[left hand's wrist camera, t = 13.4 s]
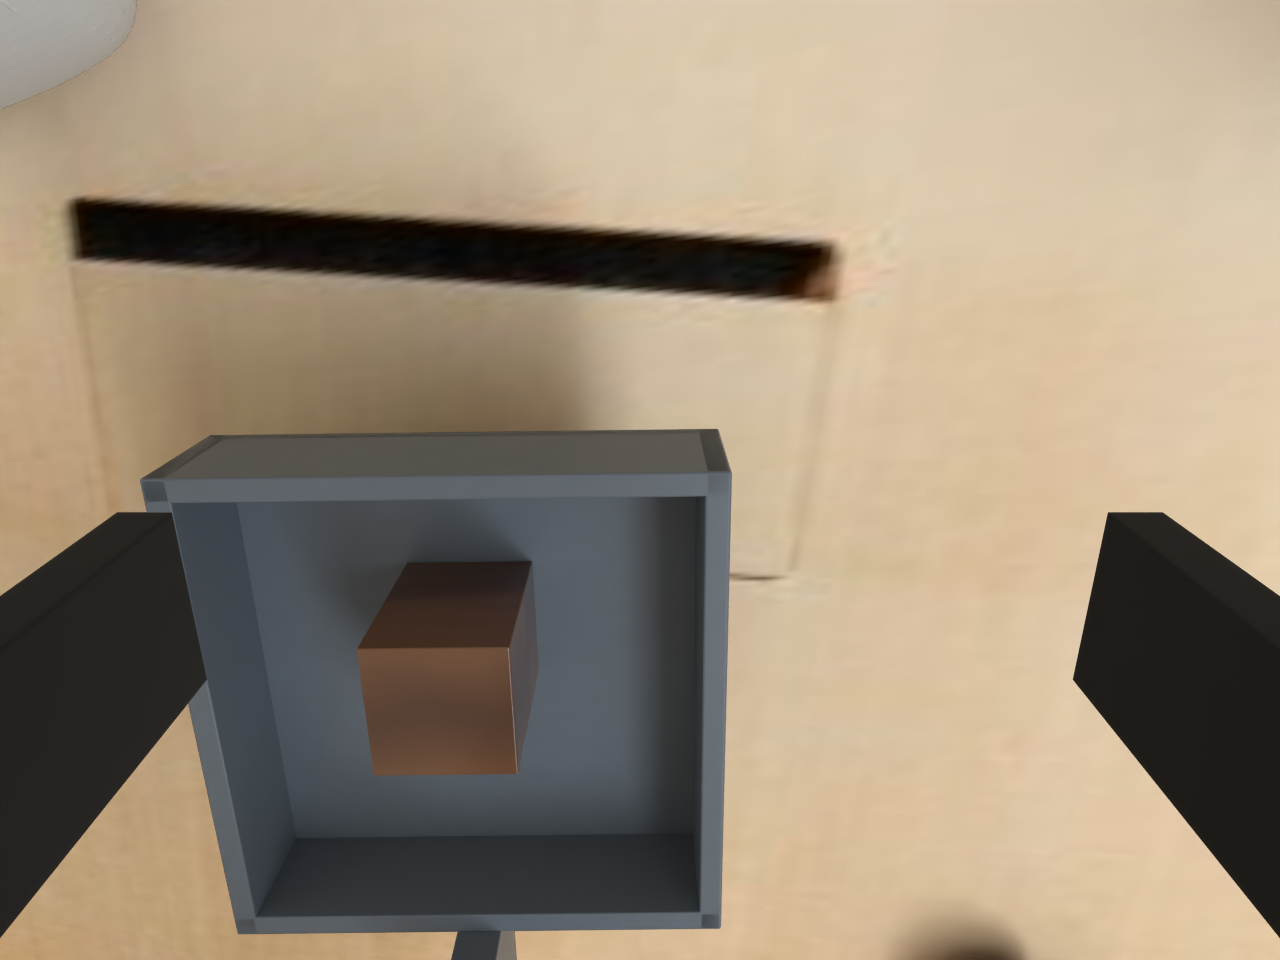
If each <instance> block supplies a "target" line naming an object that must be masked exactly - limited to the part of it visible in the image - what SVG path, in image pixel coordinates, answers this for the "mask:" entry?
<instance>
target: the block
mask: <svg viewBox="0 0 1280 960" xmlns="http://www.w3.org/2000/svg"><path fill="white" fill-rule="evenodd" d="M357 657H358V664H359V671H360V679H361V686H362V693H363V701H364V708H365V715H366V723H367V730H368V737H369V745H370V752H371V759H372V767H373V774H374V775H375V776H385V775H476V774H518V772H519V767H520V762H521V757H522V751H523V746H524V741H525V736H526V731H527V726H528V721H529V716H530V711H531V706H532V701H533V696H534V691H535V686H536V680H537V675H538V670H539V668H538V651H537V634H536V616H535V599H534V581H533V564H532V562H531V561H525V562H436V563H407V564H406V565H405V567H404V569H403V570H402V572H401V574H400V576H399V577H398V579H397V581H396V582H395V584H394V586H393V588H392V589H391V591H390V593H389V594H388V596H387V598H386V600H385V601H384V603H383V605H382V606H381V608H380V610H379V612H378V613H377V615H376V617H375V618H374V620H373V622H372V624H371V625H370V627H369V629H368V630H367V632H366V634H365V636H364V637H363V639H362V641H361V642H360V644H359V646H358V648H357Z"/></svg>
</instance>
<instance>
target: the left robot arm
mask: <svg viewBox="0 0 1280 960" xmlns="http://www.w3.org/2000/svg"><path fill="white" fill-rule="evenodd" d="M206 680H207V677H206V672H205V667H204V662H203V658H202V653H201V648H200V643H199V639H198V634H197V629H196V624H195V620H194V615H193V610H192V605H191V601H190V596H189V591H188V586H187V582H186V577H185V572H184V567H183V563H182V558H181V553H180V548H179V544H178V539H177V534H176V529H175V525H174V520H173V515H172V512H117V513H116V514H114V515H113V516H112V517H110V518H109V519H107V520H106V521H105V522H103V523H102V524H100V525H99V526H98V527H96V528H95V529H93V530H92V531H91V532H89V533H88V534H86V535H85V536H84V537H82V538H81V539H79V540H78V541H77V542H75V543H74V544H72V545H71V546H70V547H68V548H67V549H65V550H64V551H63V552H61V553H60V554H59V555H57V556H56V557H54V558H53V559H52V560H50V561H49V562H47V563H46V564H45V565H43V566H42V567H40V568H39V569H38V570H36V571H35V572H33V573H32V574H31V575H29V576H28V577H26V578H25V579H24V580H22V581H21V582H19V583H18V584H17V585H15V586H14V587H12V588H11V589H10V590H8V591H7V592H5V593H4V594H3V595H1V596H0V938H1V936H2V935H3V934H4V933H5V931H6V930H7V929H8V928H9V926H10V925H11V924H12V923H13V921H14V920H15V919H16V918H17V916H18V915H19V914H20V913H21V911H22V910H23V909H24V908H25V906H26V905H27V904H28V903H29V901H30V900H31V899H32V898H33V896H34V895H35V894H36V893H37V891H38V890H39V889H40V888H41V886H42V885H43V884H44V883H45V881H46V880H47V879H48V878H49V876H50V875H51V874H52V873H53V871H54V870H55V869H56V868H57V866H58V865H59V864H60V863H61V861H62V860H63V859H64V858H65V856H66V855H67V854H68V853H69V851H70V850H71V849H72V848H73V846H74V845H75V844H76V843H77V841H78V840H79V839H80V838H81V836H82V835H83V834H84V833H85V831H86V830H87V829H88V828H89V826H90V825H91V824H92V823H93V821H94V820H95V819H96V818H97V816H98V815H99V814H100V813H101V811H102V810H103V809H104V808H105V806H106V805H107V804H108V803H109V801H110V800H111V799H112V798H113V796H114V795H115V794H116V793H117V791H118V790H119V789H120V788H121V786H122V785H123V784H124V783H125V781H126V780H127V779H128V778H129V776H130V775H131V774H132V773H133V771H134V770H135V769H136V768H137V766H138V765H139V764H140V763H141V761H142V760H143V759H144V758H145V756H146V755H147V754H148V753H149V751H150V750H151V749H152V748H153V746H154V745H155V744H156V743H157V741H158V740H159V739H160V738H161V736H162V735H163V734H164V733H165V731H166V730H167V729H168V728H169V726H170V725H171V724H172V723H173V721H174V720H175V719H176V718H177V717H178V715H179V714H180V713H181V712H182V710H183V709H184V708H185V707H186V705H187V704H188V703H189V702H190V700H191V699H192V698H193V697H194V695H195V694H196V693H197V692H198V690H199V689H200V688H201V687H202V685H203V684H204V683H205V682H206ZM1073 680H1074V682H1075V683H1076V684H1077V685H1078V687H1079V688H1080V689H1081V690H1082V692H1083V693H1084V694H1085V695H1086V697H1087V698H1088V699H1089V700H1090V702H1091V703H1092V704H1093V705H1094V707H1095V708H1096V709H1097V710H1098V712H1099V713H1100V714H1101V715H1102V717H1103V718H1104V719H1105V720H1106V722H1107V723H1108V724H1109V725H1110V726H1111V728H1112V729H1113V730H1114V731H1115V733H1116V734H1117V735H1118V736H1119V738H1120V739H1121V740H1122V741H1123V743H1124V744H1125V745H1126V746H1127V748H1128V749H1129V750H1130V751H1131V753H1132V754H1133V755H1134V756H1135V758H1136V759H1137V760H1138V761H1139V763H1140V764H1141V765H1142V766H1143V768H1144V769H1145V770H1146V771H1147V773H1148V774H1149V775H1150V776H1151V778H1152V779H1153V780H1154V781H1155V783H1156V784H1157V785H1158V786H1159V788H1160V789H1161V790H1162V791H1163V793H1164V794H1165V795H1166V796H1167V798H1168V799H1169V800H1170V801H1171V803H1172V804H1173V805H1174V806H1175V808H1176V809H1177V810H1178V811H1179V813H1180V814H1181V815H1182V816H1183V818H1184V819H1185V820H1186V821H1187V823H1188V824H1189V825H1190V826H1191V828H1192V829H1193V830H1194V831H1195V833H1196V834H1197V835H1198V836H1199V838H1200V839H1201V840H1202V841H1203V843H1204V844H1205V845H1206V846H1207V848H1208V849H1209V850H1210V851H1211V853H1212V854H1213V855H1214V856H1215V858H1216V859H1217V860H1218V861H1219V863H1220V864H1221V865H1222V866H1223V868H1224V869H1225V870H1226V871H1227V873H1228V874H1229V875H1230V876H1231V878H1232V879H1233V880H1234V881H1235V883H1236V884H1237V885H1238V886H1239V888H1240V889H1241V890H1242V891H1243V893H1244V894H1245V895H1246V896H1247V898H1248V899H1249V900H1250V901H1251V903H1252V904H1253V905H1254V906H1255V908H1256V909H1257V910H1258V911H1259V913H1260V914H1261V915H1262V916H1263V918H1264V919H1265V920H1266V921H1267V923H1268V924H1269V925H1270V926H1271V928H1272V929H1273V930H1274V931H1275V933H1276V934H1277V935H1278V936H1279V938H1280V596H1279V595H1277V594H1276V593H1275V592H1273V591H1272V590H1270V589H1269V588H1268V587H1266V586H1265V585H1263V584H1262V583H1261V582H1259V581H1258V580H1256V579H1255V578H1254V577H1252V576H1251V575H1249V574H1248V573H1247V572H1245V571H1244V570H1242V569H1241V568H1240V567H1238V566H1237V565H1235V564H1234V563H1233V562H1231V561H1230V560H1228V559H1227V558H1226V557H1224V556H1223V555H1221V554H1220V553H1219V552H1217V551H1216V550H1214V549H1213V548H1212V547H1210V546H1209V545H1208V544H1206V543H1205V542H1203V541H1202V540H1201V539H1199V538H1198V537H1196V536H1195V535H1194V534H1192V533H1191V532H1189V531H1188V530H1187V529H1185V528H1184V527H1182V526H1181V525H1180V524H1178V523H1177V522H1175V521H1174V520H1173V519H1171V518H1170V517H1168V516H1167V515H1166V514H1164V513H1163V512H1108V515H1107V520H1106V525H1105V529H1104V534H1103V539H1102V544H1101V548H1100V553H1099V558H1098V563H1097V567H1096V572H1095V577H1094V582H1093V586H1092V591H1091V596H1090V601H1089V605H1088V610H1087V615H1086V620H1085V624H1084V629H1083V634H1082V639H1081V643H1080V648H1079V653H1078V658H1077V662H1076V667H1075V672H1074V677H1073Z"/></svg>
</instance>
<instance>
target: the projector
mask: <svg viewBox="0 0 1280 960" xmlns="http://www.w3.org/2000/svg"><path fill="white" fill-rule="evenodd" d="M136 7H137V0H0V109H2V108H4V107H7V106H10V105H13V104H15V103H18V102H20V101H23V100H25V99H28V98H30V97H33V96H35V95H37V94H40V93H42V92H45V91H47V90H49V89H51V88H53V87H56V86H58V85H60V84H62V83H64V82H66V81H68V80H70V79H72V78H74V77H76V76H78V75H80V74H81V73H83V72H85V71H87V70H88V69H90V68H92V67H93V66H95V65H97V64H98V63H100V62H101V61H102V60H104V59H105V58H107V57H108V56H110V55H111V54H112V53H113V52H114V51H115V50H116V49H117V48H118V47H119V46H120V45H121V44H122V43H123V42H124V40H125V39H126V37H127V36H128V34H129V33H130V31H131V28H132V26H133V23H134V20H135V14H136Z"/></svg>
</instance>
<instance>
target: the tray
mask: <svg viewBox="0 0 1280 960" xmlns="http://www.w3.org/2000/svg"><path fill="white" fill-rule="evenodd" d="M140 482H141V487H142V492H143V496H144V501H145V505H146V510H147V512H172V515H173V520H174V525H175V529H176V534H177V539H178V544H179V548H180V553H181V558H182V563H183V567H184V572H185V577H186V582H187V586H188V591H189V596H190V601H191V605H192V610H193V615H194V620H195V624H196V629H197V634H198V639H199V643H200V648H201V653H202V658H203V662H204V667H205V672H206V677H207V680H206V682H205V683H204V684H203V685H202V687H201V688H200V689H199V690H198V692H197V693H196V694H195V695H194V697H193V698H192V699H191V700H190V702H189V703H188V705H189V709H190V714H191V719H192V723H193V728H194V733H195V737H196V742H197V747H198V751H199V756H200V760H201V765H202V770H203V774H204V779H205V784H206V788H207V793H208V798H209V802H210V807H211V811H212V816H213V821H214V825H215V830H216V835H217V839H218V844H219V849H220V853H221V858H222V862H223V867H224V872H225V876H226V881H227V886H228V890H229V895H230V900H231V904H232V909H233V913H234V918H235V923H236V927H237V932H238V934H296V933H382V932H458V933H457V937H456V941H455V945H454V950H453V954H452V958H451V960H517V955H516V943H515V931H553V930H639V929H719V928H720V927H721V899H722V857H723V815H724V774H725V732H726V691H727V649H728V608H729V566H730V524H731V484H732V473H731V469H730V466H729V463H728V460H727V456H726V453H725V450H724V447H723V444H722V440H721V437H720V434H719V431H718V429H679V430H599V431H520V432H440V433H361V434H281V435H211V436H209V437H207V438H206V439H204V440H202V441H201V442H199V443H198V444H196V445H194V446H193V447H191V448H190V449H188V450H186V451H185V452H183V453H182V454H180V455H178V456H177V457H175V458H174V459H172V460H170V461H169V462H167V463H166V464H164V465H162V466H161V467H159V468H158V469H156V470H154V471H153V472H151V473H150V474H148V475H147V476H145V477H143V478H142V479H141V480H140ZM525 561H531V562H532V564H533V581H534V599H535V616H536V634H537V651H538V668H539V670H538V675H537V680H536V686H535V691H534V696H533V701H532V706H531V711H530V716H529V721H528V726H527V731H526V736H525V741H524V746H523V751H522V757H521V762H520V767H519V772H518V774H476V775H385V776H375V775H374V774H373V767H372V759H371V752H370V745H369V737H368V730H367V723H366V715H365V708H364V701H363V693H362V686H361V679H360V671H359V664H358V657H357V648H358V646H359V644H360V642H361V641H362V639H363V637H364V636H365V634H366V632H367V630H368V629H369V627H370V625H371V624H372V622H373V620H374V618H375V617H376V615H377V613H378V612H379V610H380V608H381V606H382V605H383V603H384V601H385V600H386V598H387V596H388V594H389V593H390V591H391V589H392V588H393V586H394V584H395V582H396V581H397V579H398V577H399V576H400V574H401V572H402V570H403V569H404V567H405V565H406V564H407V563H436V562H525Z"/></svg>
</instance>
